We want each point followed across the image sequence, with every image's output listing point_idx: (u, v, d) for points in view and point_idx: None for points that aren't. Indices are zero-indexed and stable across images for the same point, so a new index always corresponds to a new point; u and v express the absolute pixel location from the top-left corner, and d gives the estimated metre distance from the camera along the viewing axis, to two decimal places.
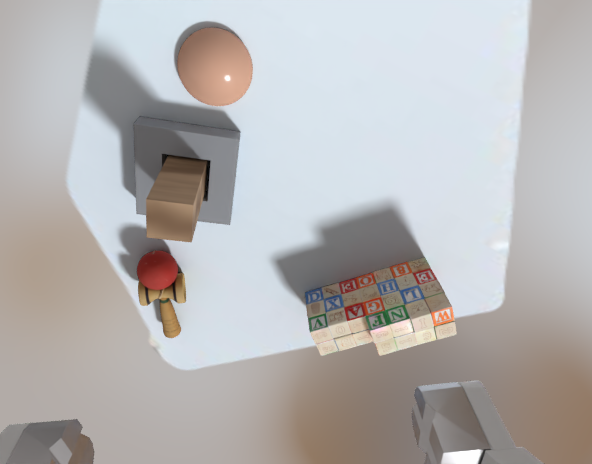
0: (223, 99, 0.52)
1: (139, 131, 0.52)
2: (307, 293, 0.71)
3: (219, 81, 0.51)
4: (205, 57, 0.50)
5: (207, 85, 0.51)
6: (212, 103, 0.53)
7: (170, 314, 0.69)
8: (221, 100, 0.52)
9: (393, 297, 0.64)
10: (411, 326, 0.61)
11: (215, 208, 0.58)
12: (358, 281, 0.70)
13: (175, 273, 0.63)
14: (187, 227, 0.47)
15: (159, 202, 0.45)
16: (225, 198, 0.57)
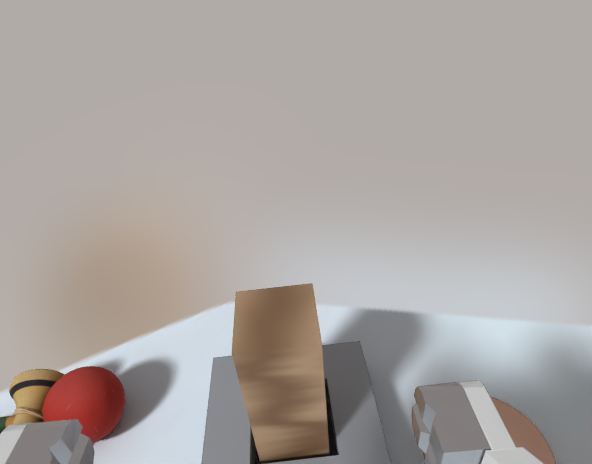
0: None
1: (351, 348, 0.36)
2: None
3: None
4: None
5: None
6: None
7: None
8: None
9: None
10: None
11: None
12: None
13: None
14: (266, 343, 0.23)
15: (312, 298, 0.26)
16: None
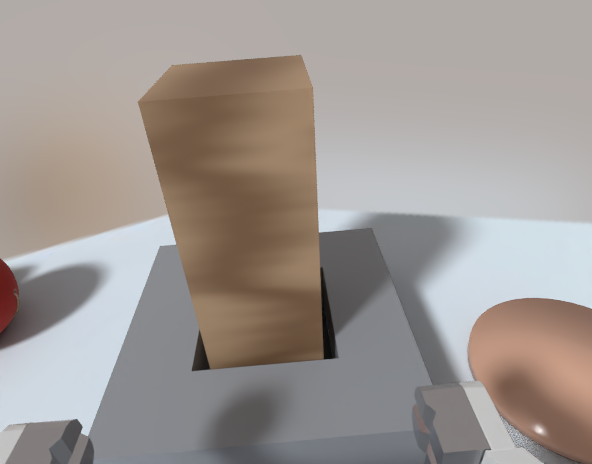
0: (512, 395, 0.18)
1: (359, 235, 0.25)
2: None
3: (550, 378, 0.19)
4: (580, 341, 0.20)
5: (518, 354, 0.20)
6: (482, 371, 0.19)
7: None
8: (505, 390, 0.18)
9: None
10: None
11: (163, 396, 0.16)
12: None
13: None
14: (207, 91, 0.12)
15: (299, 62, 0.15)
16: (203, 422, 0.15)
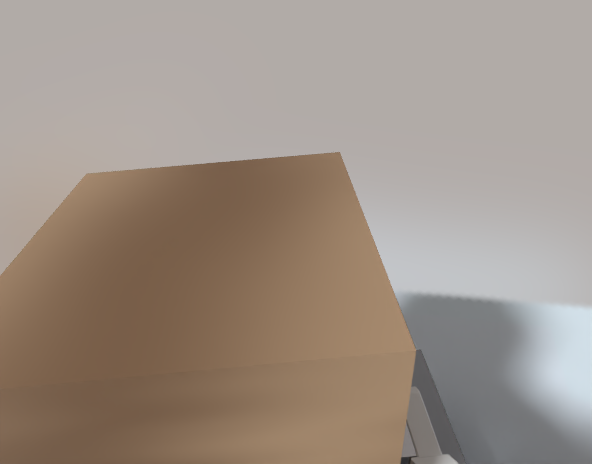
0: None
1: None
2: None
3: None
4: None
5: None
6: None
7: None
8: None
9: None
10: None
11: None
12: None
13: None
14: (113, 341, 0.04)
15: (344, 183, 0.07)
16: None
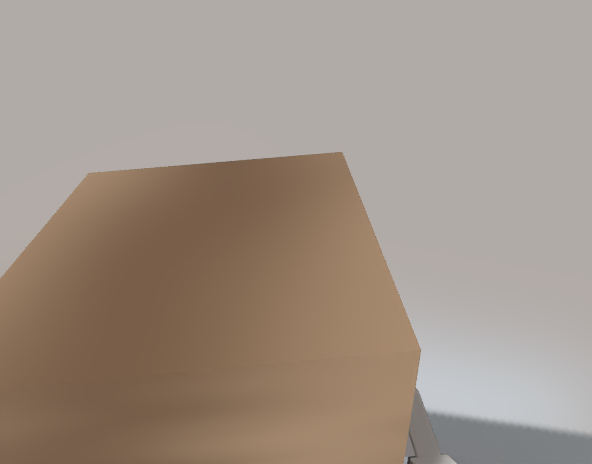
0: None
1: None
2: None
3: None
4: None
5: None
6: None
7: None
8: None
9: None
10: None
11: None
12: None
13: None
14: (117, 341, 0.04)
15: (346, 183, 0.07)
16: None
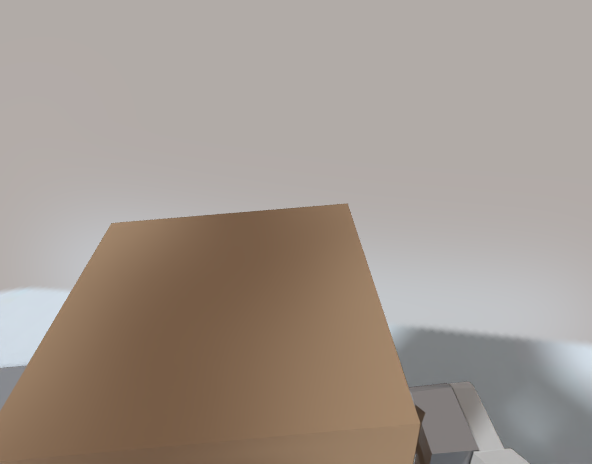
0: None
1: None
2: None
3: None
4: None
5: None
6: None
7: None
8: None
9: None
10: None
11: None
12: None
13: None
14: (154, 410, 0.05)
15: (352, 240, 0.08)
16: None
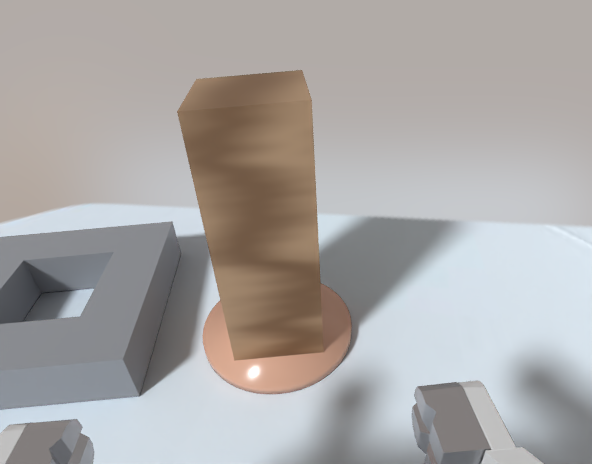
0: (217, 344, 0.24)
1: (159, 227, 0.31)
2: None
3: None
4: None
5: None
6: (207, 329, 0.25)
7: None
8: (215, 341, 0.24)
9: None
10: None
11: None
12: None
13: None
14: (230, 103, 0.16)
15: (301, 77, 0.18)
16: None
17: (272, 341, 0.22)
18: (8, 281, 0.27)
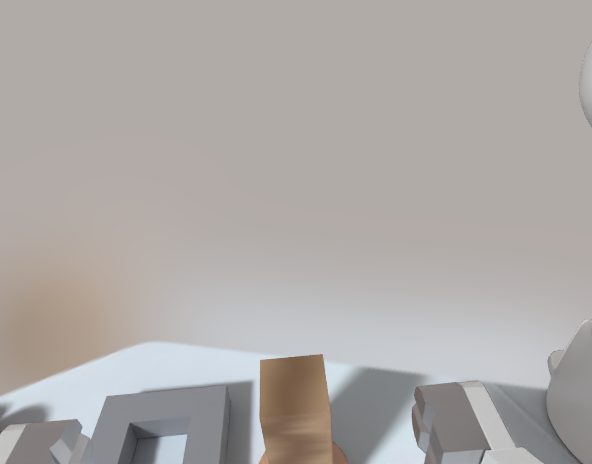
0: None
1: (218, 391, 0.44)
2: None
3: None
4: None
5: None
6: None
7: None
8: None
9: None
10: None
11: None
12: None
13: None
14: (286, 409, 0.29)
15: (322, 368, 0.32)
16: None
17: None
18: (124, 443, 0.40)
